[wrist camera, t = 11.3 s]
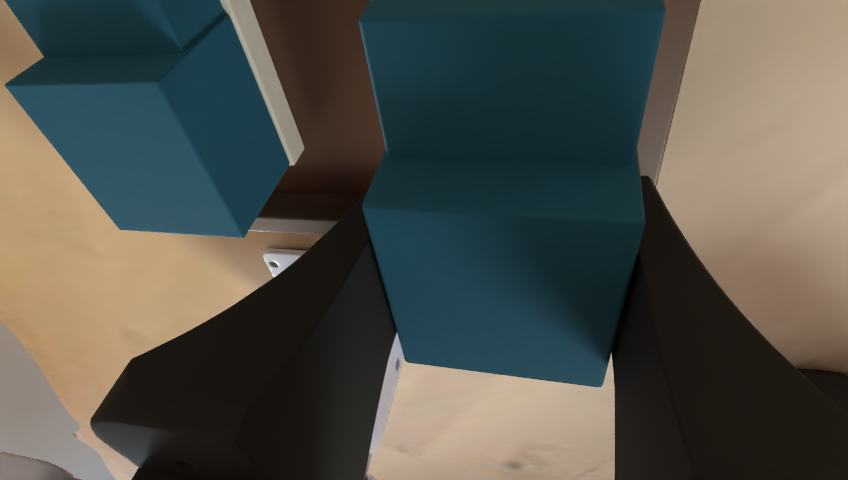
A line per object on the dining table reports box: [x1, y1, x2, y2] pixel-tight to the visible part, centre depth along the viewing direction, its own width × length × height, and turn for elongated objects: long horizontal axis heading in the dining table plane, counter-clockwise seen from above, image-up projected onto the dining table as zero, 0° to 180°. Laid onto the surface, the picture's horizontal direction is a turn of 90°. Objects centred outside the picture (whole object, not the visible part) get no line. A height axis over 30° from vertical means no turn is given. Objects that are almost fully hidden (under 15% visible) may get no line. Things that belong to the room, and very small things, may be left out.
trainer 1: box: [5, 0, 304, 238], centre depth 14 cm, size 8×5×4 cm, turn 9°
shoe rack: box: [249, 0, 701, 235], centre depth 16 cm, size 20×12×6 cm, turn 99°
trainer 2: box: [359, 0, 666, 387], centre depth 10 cm, size 8×5×4 cm, turn 8°
